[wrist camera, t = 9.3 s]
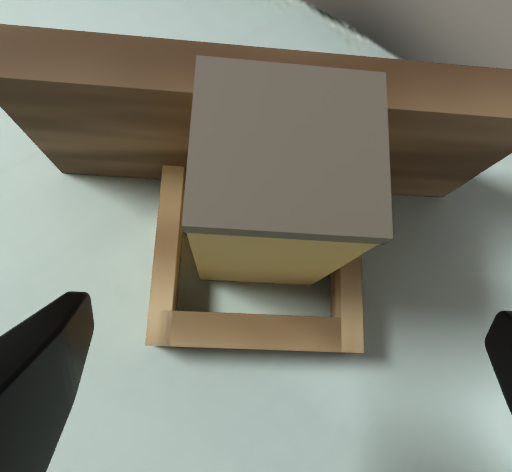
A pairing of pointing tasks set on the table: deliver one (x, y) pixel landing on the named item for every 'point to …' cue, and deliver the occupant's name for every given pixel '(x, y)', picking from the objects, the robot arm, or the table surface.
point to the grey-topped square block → (285, 170)
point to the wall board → (177, 141)
